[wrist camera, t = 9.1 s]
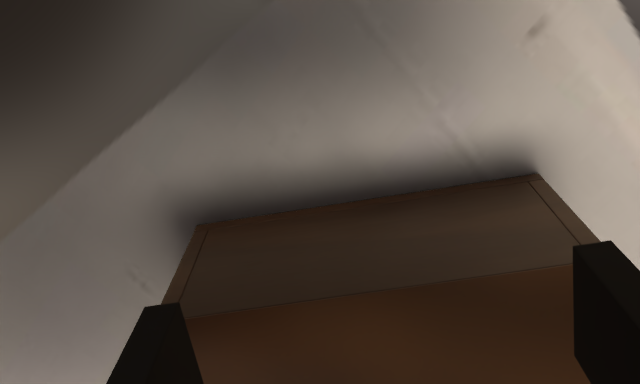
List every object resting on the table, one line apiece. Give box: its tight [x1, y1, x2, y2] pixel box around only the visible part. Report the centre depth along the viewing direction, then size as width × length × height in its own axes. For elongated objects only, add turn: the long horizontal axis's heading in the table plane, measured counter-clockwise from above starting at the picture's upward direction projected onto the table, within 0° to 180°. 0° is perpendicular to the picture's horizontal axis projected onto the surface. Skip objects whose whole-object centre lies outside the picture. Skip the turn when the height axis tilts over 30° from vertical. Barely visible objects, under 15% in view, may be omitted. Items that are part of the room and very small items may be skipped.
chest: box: [161, 174, 601, 319], centre depth 29 cm, size 14×18×9 cm
